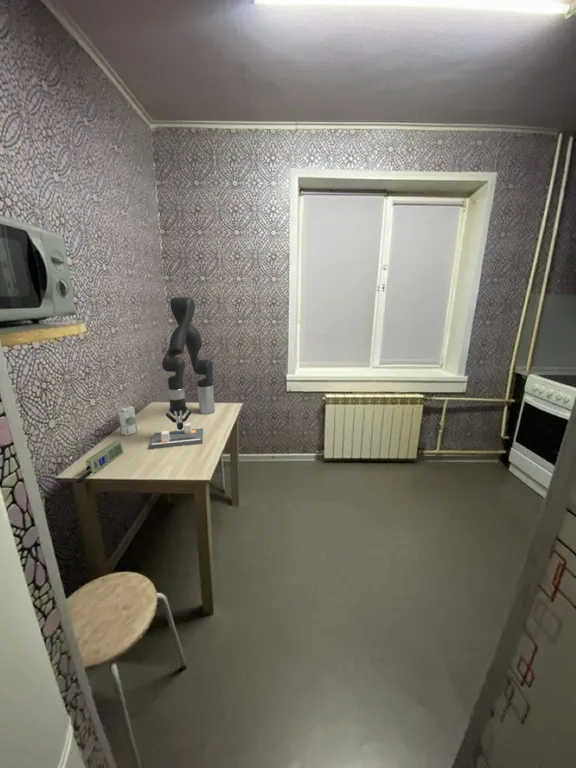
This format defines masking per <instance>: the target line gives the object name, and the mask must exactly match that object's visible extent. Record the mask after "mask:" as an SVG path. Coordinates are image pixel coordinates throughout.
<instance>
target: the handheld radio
mask: <svg viewBox="0 0 576 768" xmlns="http://www.w3.org/2000/svg"><path fill="white" fill-rule="evenodd" d="M122 454H124V449H123V443H122V440H121V439H116V440H114V441H113V442H112V443H109V444H108V445H107V446H105V447H104V448H102V449H100V450H99V451H97V452H96V453H94V454H93V455H92V456H90V457H88V458H87V459H86V460H85V461H84V462H85V465H86V471H87V472H86V473H84V474H82V475H81V476H80V477H78V481H79V482H81V481H83V480H84V479H86V478H87V477H89V476H88V475H89V474H91V473H92V474H93V475H95V474H96V473H97V471H98V470H99V471H100V470H102V469H104V468H105V467H106V466H107V465H109V464H110V463H111V462H113V461H114V460H116V459H117V458H118V457H120V456H121V455H122ZM108 463H109V464H108ZM101 468H102V469H101ZM99 471H98V472H99ZM95 472H96V473H95ZM94 473H95V474H94Z"/></svg>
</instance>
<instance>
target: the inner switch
mask: <svg viewBox="0 0 576 768" xmlns="http://www.w3.org/2000/svg"><path fill="white" fill-rule="evenodd" d="M192 429H193V428H192V422H183V430H184V432H185V433H191V430H192Z"/></svg>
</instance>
